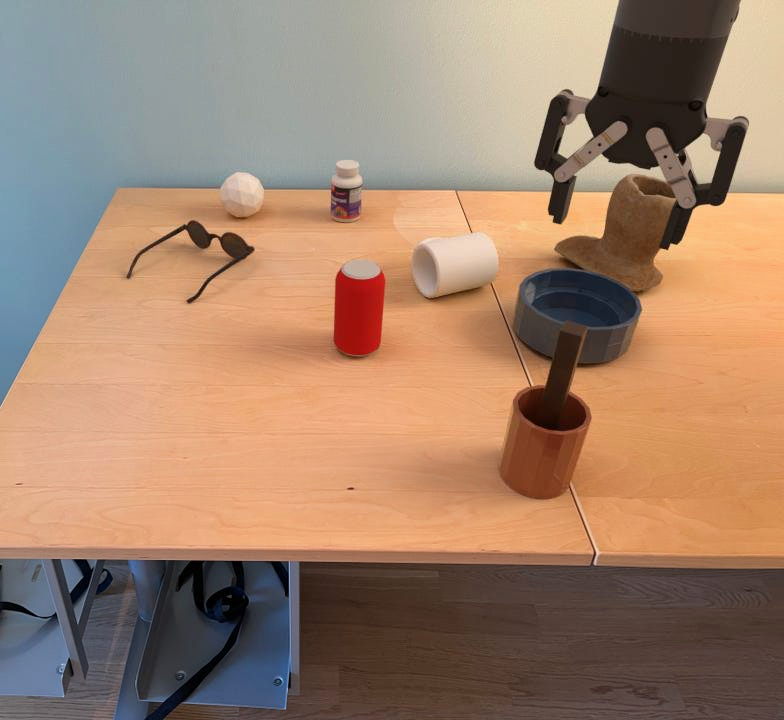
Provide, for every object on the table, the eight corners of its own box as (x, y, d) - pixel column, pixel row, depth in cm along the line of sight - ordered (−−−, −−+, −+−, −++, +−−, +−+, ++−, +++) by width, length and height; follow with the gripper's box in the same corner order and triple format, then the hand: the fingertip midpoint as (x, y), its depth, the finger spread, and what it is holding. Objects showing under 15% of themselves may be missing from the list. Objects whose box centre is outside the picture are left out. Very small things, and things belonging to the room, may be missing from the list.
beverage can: (385, 358, 91) (392, 277, 83) (339, 363, 90) (342, 283, 82) (372, 331, 95) (378, 253, 88) (328, 337, 94) (330, 258, 87)
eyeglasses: (255, 264, 111) (254, 236, 108) (193, 306, 101) (189, 276, 98) (186, 240, 117) (183, 213, 114) (121, 277, 107) (116, 248, 104)
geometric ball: (244, 223, 129) (254, 181, 128) (265, 223, 122) (277, 179, 122) (207, 210, 124) (218, 166, 124) (228, 210, 118) (239, 164, 117)
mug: (494, 294, 103) (503, 246, 98) (435, 308, 100) (442, 259, 95) (451, 258, 112) (457, 212, 107) (396, 270, 109) (400, 223, 104)
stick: (547, 466, 74) (588, 326, 63) (541, 478, 73) (582, 336, 62) (528, 459, 75) (566, 319, 64) (522, 470, 74) (560, 330, 63)
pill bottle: (324, 215, 125) (325, 163, 119) (346, 207, 128) (348, 155, 122) (344, 226, 121) (346, 172, 116) (366, 217, 124) (369, 164, 118)
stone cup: (680, 284, 105) (715, 190, 96) (624, 303, 101) (655, 207, 92) (602, 243, 116) (627, 155, 107) (549, 259, 112) (570, 169, 103)
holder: (578, 464, 75) (599, 400, 70) (558, 509, 70) (579, 444, 65) (511, 439, 78) (526, 376, 73) (488, 480, 73) (502, 416, 68)
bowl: (639, 324, 97) (652, 287, 93) (613, 382, 86) (627, 343, 83) (531, 294, 103) (539, 258, 100) (495, 344, 93) (503, 306, 89)
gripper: (554, 19, 49) (512, 229, 59) (785, 44, 43) (696, 274, 53) (582, 2, 54) (539, 198, 64) (792, 22, 48) (710, 236, 58)
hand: (610, 232), depth 58 cm, fingers open, 8 cm apart
